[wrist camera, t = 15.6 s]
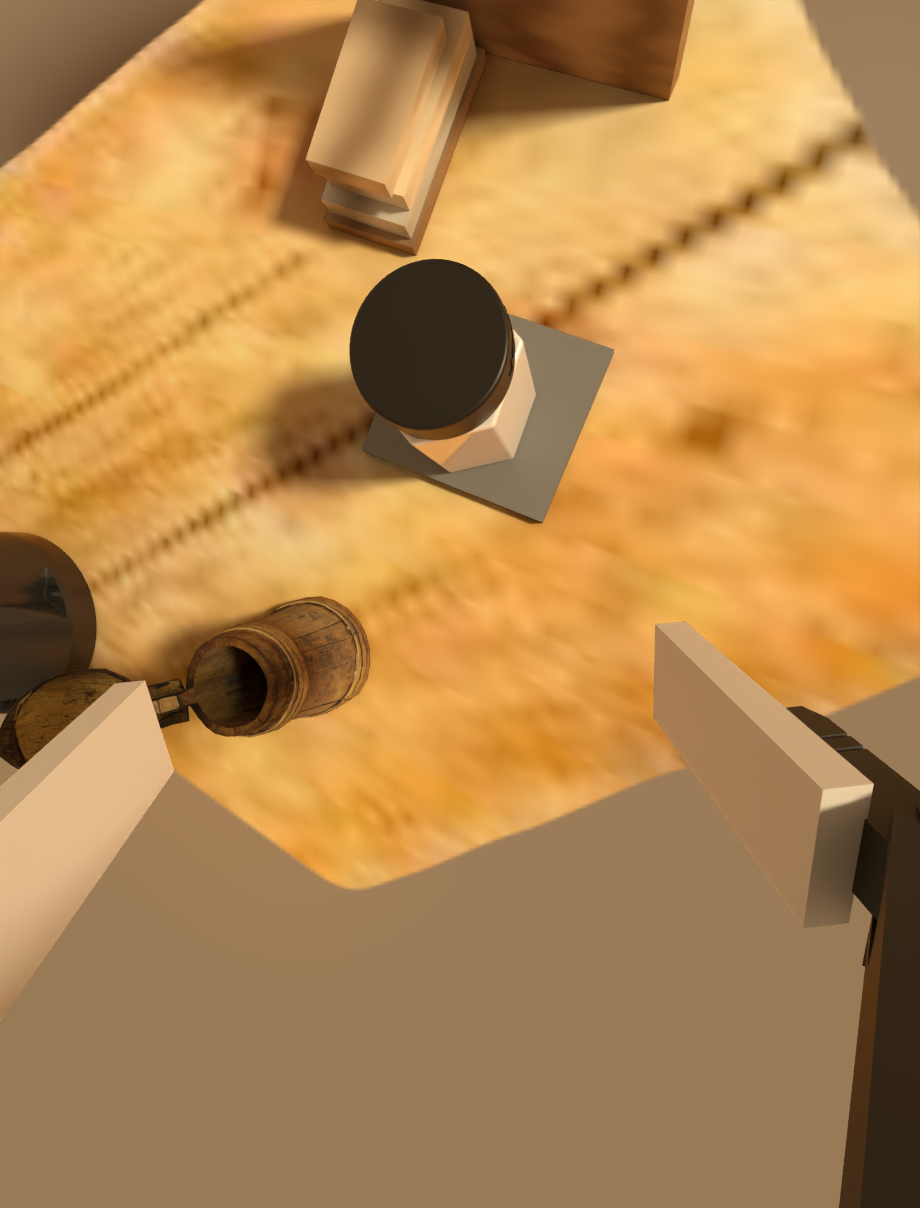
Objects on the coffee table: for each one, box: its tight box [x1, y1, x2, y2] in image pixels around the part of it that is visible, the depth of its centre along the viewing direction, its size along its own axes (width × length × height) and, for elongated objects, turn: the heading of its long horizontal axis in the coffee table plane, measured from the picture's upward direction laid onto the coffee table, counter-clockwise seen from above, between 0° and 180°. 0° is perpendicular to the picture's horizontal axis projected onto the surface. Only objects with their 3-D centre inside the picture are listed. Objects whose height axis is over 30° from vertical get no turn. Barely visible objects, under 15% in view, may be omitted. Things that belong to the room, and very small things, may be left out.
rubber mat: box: [362, 313, 614, 523], centre depth 39 cm, size 14×12×1 cm
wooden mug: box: [0, 597, 370, 769], centre depth 35 cm, size 9×14×18 cm, turn 104°
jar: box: [350, 259, 536, 472], centre depth 33 cm, size 9×8×12 cm
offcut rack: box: [306, 0, 694, 255], centre depth 30 cm, size 20×15×18 cm
